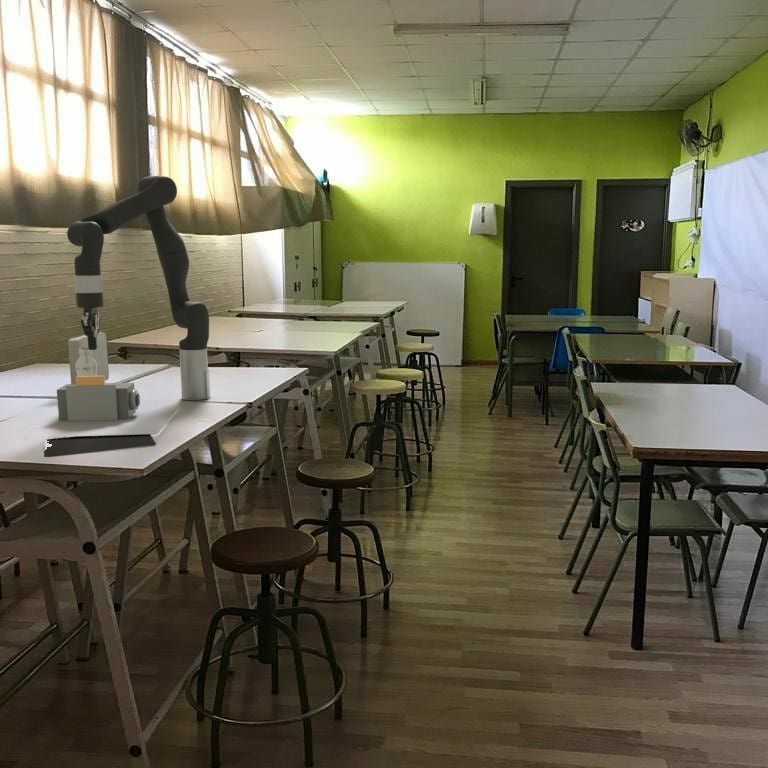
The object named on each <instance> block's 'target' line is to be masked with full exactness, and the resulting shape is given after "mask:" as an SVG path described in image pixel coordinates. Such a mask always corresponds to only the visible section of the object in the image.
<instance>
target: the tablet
mask: <svg viewBox="0 0 768 768" xmlns="http://www.w3.org/2000/svg"><path fill="white" fill-rule="evenodd" d="M46 439H47V441H49V442H47V443H49V444H52V446H51V447H47V449H46V450H45V451H44V450H43V458H55V457H63V456H65V457H66V456H74V455H75V456H76V455H84V454H92V453H100V452H101V453H104V452H112V451H113V452H114V451H122V450H123V451H124V450H130V449H131V450H132V449H141V448H150V447H156V446H157V442H156V441H155V440H154V437H153V436H152V435H151V433H142V434H110V435H108V434H106V435H75V436H74V435H73V436H66V437H65V436H64V437H56V438H46Z"/></svg>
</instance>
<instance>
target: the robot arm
mask: <svg viewBox="0 0 768 768" xmlns="http://www.w3.org/2000/svg"><path fill="white" fill-rule="evenodd" d="M177 194H178V188H177V184H176V182H175V181H174V179H172V178H171V177H169V176H166V175H151V176H150V175H149V176H145V177H142V178H141V179H140V180H139V181H138V184H137V193H136V194H133V195H131V196H129V197H127V198H124V199H121V200H120V199H119V200H118V201H115V202H113V203H110V204H109V205H108V206H106V207H104V208H102V209H101V210H99V211H97V212H95V213H94V214H91V215H88V216H86V217H84V218H81V219H78V220H77V221H75V222H73V223H71V225H70V226H69V227H68V229H67V231H66V232H67V233H66V236H67V239H68V241H69V243H70V244H72V245H74V246H76V247H81V253H80V254H79V255H77V256H75V258H74V264H73V265H74V277H75V279H74V288H75V289H74V290H75V306H76V308H78V309H82V310H83V312H82V313H83V314H82V315H81V316H82V317H81V320H80V324H81V328H82V331H83V333H84V334H83V335H85V336H87V337H88V349H89V350H96V349H97V335H98V334H99V333H100V329H101V328H100V326H101V320H102V318H101V316H100V313H99V312H98V309H99V308H103V307H104V306H105V304H104V288H103V281H102V272H101V271H102V270H101V259H102V254H103V249H104V248H103V247H104V242H105V239H104V238H105V236H104V235H110V234H113V233H114V232H116V231H117V230H119V229H120V228H122V227H124V226H125V225H127V224H129V223H130V222H133V220H135V219H137V218H139V217H141V216H142V215H145V216H146V219H147V222H148V225H149V228H150V230H151V234H152V238H153V241H154V244H155V247H156V252H157V253H156V254H157V256H158V259H159V263H160V264H159V265H160V266H161V269H162V273H163V276H164V280H165V284H166V288H167V293H168V298H169V303H170V304H169V305H170V310H171V314H172V318H173V321H174V323H175V324H176V326H178V327H179V328H181V329H187V332H186V333H187V334H186V337H185V338H183V339H181V340H179V343H178V344H179V349H178V350H179V365H180V385H181V386H180V388H181V399H182V400H186V401H199V400H200V401H201V400H209V398H210V397H211V389H210V387H211V386H210V384H211V383H210V369H209V365H208V364H209V363H208V361H209V360H208V342H209V339H210V314H209V310H208V308H207V306H206V305H205V304H204V303H202V302H201V301H190V298H189V295H188V291H187V290H188V289H187V278H188V273H189V269H190V259H189V256H188V251H187V247H186V244H185V242H184V240H183V238H182V237H181V235H180V234H179V233H178V231H177V230H176V229H175V228H174V226H173V225H172V223H171V222H170V220H169V218H168V216H167V214H166V211H165V207H164V206H166V205H169V204H171V203H174V201H175V199H176V197H177V196H178V195H177Z"/></svg>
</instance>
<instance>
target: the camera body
mask: <svg viewBox="0 0 768 768" xmlns="http://www.w3.org/2000/svg"><path fill="white" fill-rule="evenodd" d="M105 384H116V395H117V410H118V420H128V419H130V418H132V416H133V415H135V413H136V412H137V410H138V409H139V407H140V405H141V403H140V402H141V396H140V393H139V391H138V389H135V382H107V383H106V382H105ZM66 385H76V384H71V383H66V384H64V385H63V386H61V387H59V388H58V389H56V400H57V409H58V412H57V413H58V421H60V422H61V421H62V422H63V421H68V412H67V399H66Z"/></svg>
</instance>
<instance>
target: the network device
mask: <svg viewBox="0 0 768 768" xmlns="http://www.w3.org/2000/svg"><path fill="white" fill-rule="evenodd" d="M107 342H108V341H107V333H106V332H99V334H98V335H97V349H96V350H92V354H91V356H92V357H93V358H94V359H95V361H96V363H97V376H105V381H108V380H109V378H110V373H109V370H110V369H109V358H108V357H109V355H108V343H107ZM67 346H68V348H67V349H68V357H69V358H68V360H69V371H70V373H69V374H70V384H76V378H75V377H76V376H77V372H76V368H75V364H76V362H77V360H78V358H79V357H80V355H79V348H88V337H87V336H85V334H83V335H80V336H77V337H72V338H69V339H68V341H67Z"/></svg>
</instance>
